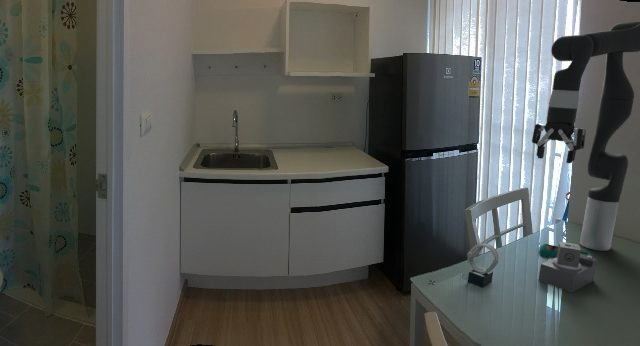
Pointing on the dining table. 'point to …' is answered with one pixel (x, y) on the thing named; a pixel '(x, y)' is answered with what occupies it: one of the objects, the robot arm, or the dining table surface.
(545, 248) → the digital multimeter
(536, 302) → the dining table surface
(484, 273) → the watch
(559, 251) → the dice cube
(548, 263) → the camera body
